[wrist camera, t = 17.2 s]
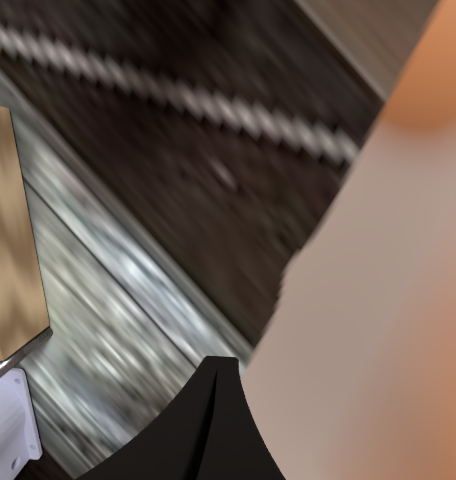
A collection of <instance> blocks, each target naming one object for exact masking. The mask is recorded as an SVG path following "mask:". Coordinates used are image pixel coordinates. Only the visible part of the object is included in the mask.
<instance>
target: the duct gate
mask: <svg viewBox="0 0 456 480" xmlns="http://www.w3.org/2000/svg"><path fill="white" fill-rule="evenodd" d="M49 325H50V323H49V318H48V313H47V307H46V302H45V297H44V291H43V286H42V281H41V275H40V270H39V265H38V260H37V254H36V249H35V244H34V238H33V233H32V228H31V223H30V217H29V212H28V207H27V201H26V196H25V191H24V186H23V180H22V175H21V170H20V164H19V159H18V154H17V149H16V143H15V138H14V133H13V127H12V122H11V117H10V111H9V108H5V107H0V361H4V360H5V359H7V358H8V357H9V356H10V355H12V354H13V353H14V352H16V351H17V350H18V349H19V348H21V347H22V346H23V345H25V344H26V343H27V342H28V341H30V340H31V339H32V338H34V337H35V336H36V335H38V334H39V333H40V332H41V331H43V330H44V329H45V328H47V327H48V326H49Z"/></svg>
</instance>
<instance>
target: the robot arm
mask: <svg viewBox="0 0 456 480" xmlns="http://www.w3.org/2000/svg"><path fill="white" fill-rule="evenodd" d="M41 455H42V449H41V444H40V440H39V435H38V430H37V426H36V421H35V417H34V412H33V408H32V403H31V399H30V394H29V389H28V385H27V380H26V376H25V372H24V371H23V370H22V369H19V368H12V369H11V370H10V371H8V372H7V373H6V374H5V375H4V376H2V377H1V378H0V480H14V478H15V477H16V476H17V474H18V473H19V472H20V471H21V469H22V468H23V467H24V465H25V464H26V463H27V461H28V460H29V459H39V458H40V457H41ZM75 480H286V479H285V478H284V476H283V475H282V473H281V472H280V470H279V468H278V466H277V465H276V463H275V461H274V460H273V458H272V456H271V454H270V453H269V451H268V449H267V447H266V445H265V443H264V441H263V439H262V437H261V435H260V433H259V431H258V429H257V427H256V424H255V422H254V420H253V417H252V415H251V412H250V409H249V407H248V404H247V401H246V398H245V395H244V391H243V388H242V384H241V380H240V375H239V360H238V359H237V358H236V357H221V356H206V357H205V358H204V359H203V360H202V362H201V363H200V365H199V367H198V368H197V369H196V371H195V372H194V374H193V375H192V376H191V378H190V379H189V380H188V382H187V383H186V384H185V386H184V387H183V388H182V389H181V391H180V392H179V393H178V394H177V395H176V397H175V398H174V399H173V400H172V401H171V402H170V403H169V404H168V406H167V407H166V408H165V409H164V410H163V411H162V412H161V413H160V414H159V415H158V416H157V417H156V418H155V419H154V420H153V421H152V422H151V423H150V424H149V425H148V426H147V427H146V428H145V429H143V430H142V431H141V432H140V433H139V434H138V435H137V436H135V437H134V438H133V439H132V440H131V441H130V442H128V443H127V444H126V445H125V446H123V447H122V448H121V449H119V450H118V451H117V452H115V453H114V454H113V455H111V456H110V457H109V458H107V459H106V460H104V461H103V462H102V463H100V464H99V465H97V466H96V467H94V468H93V469H91V470H90V471H88V472H86V473H85V474H83V475H81V476H80V477H78V478H77V479H75Z"/></svg>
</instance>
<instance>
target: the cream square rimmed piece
mask: <svg viewBox="0 0 456 480" xmlns="http://www.w3.org/2000/svg"><path fill="white" fill-rule="evenodd" d="M52 334H53V331H52V329H51V328H50V327H47V328H45V329H44V330H43V331H41V332H40V333H39V334H38V335H36V336H35V337H34V338H32V339H31V340H30V341H28V342H27V343H26V344H25V345H23V346H22V347H21V348H19V349H18V350H17V351H16V352H14V353H13V354H12V355H10V356H9V357H8V358H7V359H5V360H4V361H0V378H1V377H2V376H4V375H5V374H6V373H7V372H8V371H10V370H11V369H12V368H13V367H14V366H16V365H17V364H18V363H19V362H20V361H22V360H23V359H24V358H25V357H26V356H28V355H29V354H30V353H31V352H32V351H34V350H35V349H36V348H37V347H38V346H40V345H41V344H42V343H43V342H44V341H46V340H47V339H48V338H49V337H50V336H52Z"/></svg>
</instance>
